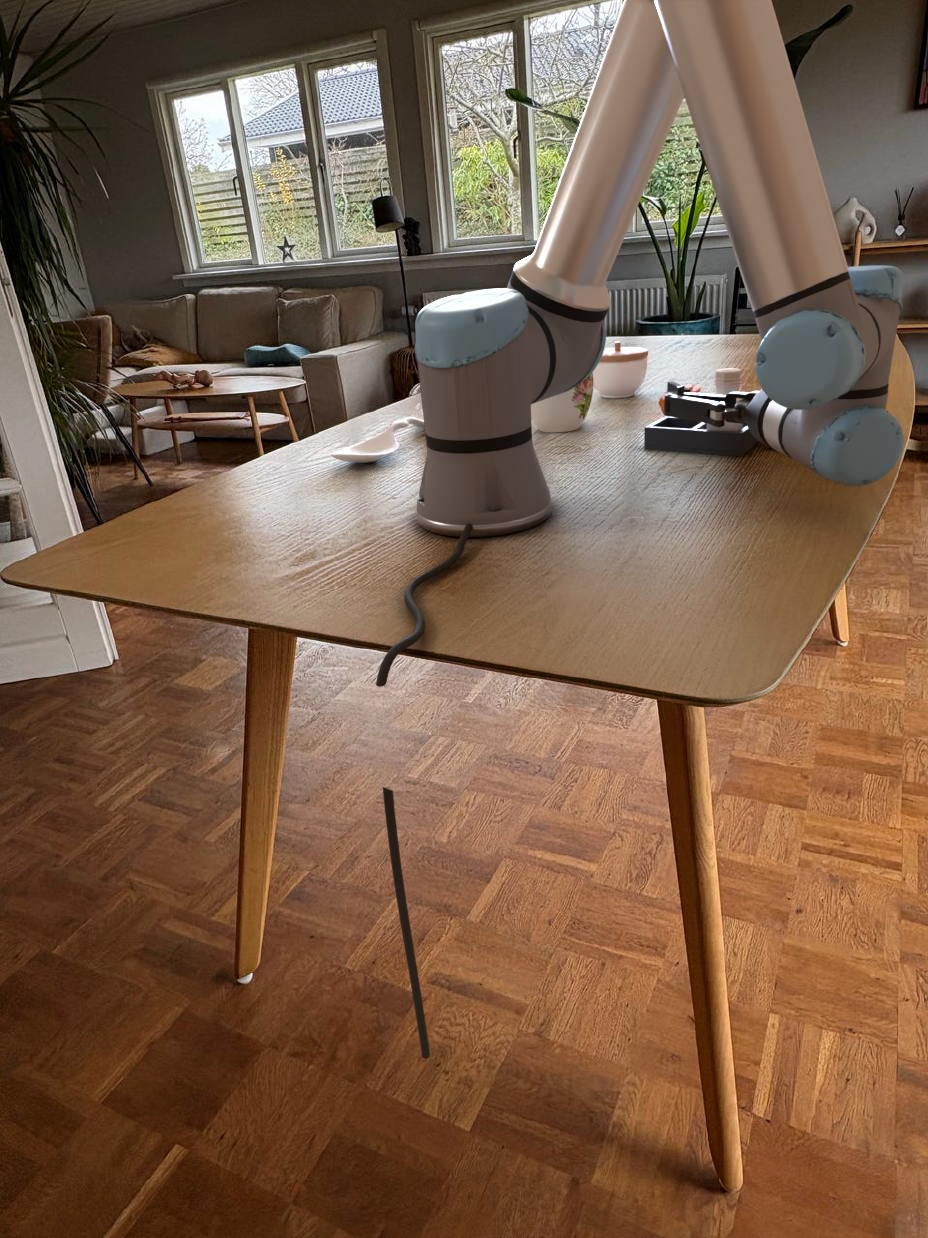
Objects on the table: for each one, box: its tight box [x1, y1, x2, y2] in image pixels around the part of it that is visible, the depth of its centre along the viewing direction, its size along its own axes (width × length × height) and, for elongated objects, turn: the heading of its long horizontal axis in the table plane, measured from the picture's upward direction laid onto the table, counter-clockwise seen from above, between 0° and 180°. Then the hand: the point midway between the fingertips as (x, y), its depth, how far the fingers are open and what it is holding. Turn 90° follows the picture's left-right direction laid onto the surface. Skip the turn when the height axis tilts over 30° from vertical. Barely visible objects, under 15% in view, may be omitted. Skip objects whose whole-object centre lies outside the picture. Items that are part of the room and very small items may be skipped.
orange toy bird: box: [657, 382, 702, 414], centre depth 126 cm, size 5×8×12 cm
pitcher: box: [531, 372, 594, 433], centre depth 126 cm, size 11×18×14 cm, turn 149°
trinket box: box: [593, 340, 649, 399], centre depth 146 cm, size 11×11×9 cm
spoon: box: [330, 403, 425, 464], centre depth 127 cm, size 9×32×4 cm, turn 156°
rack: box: [643, 415, 760, 458], centre depth 113 cm, size 13×13×3 cm
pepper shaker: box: [707, 367, 743, 432], centre depth 107 cm, size 4×4×10 cm
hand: (719, 386), depth 108 cm, fingers open, 13 cm apart
